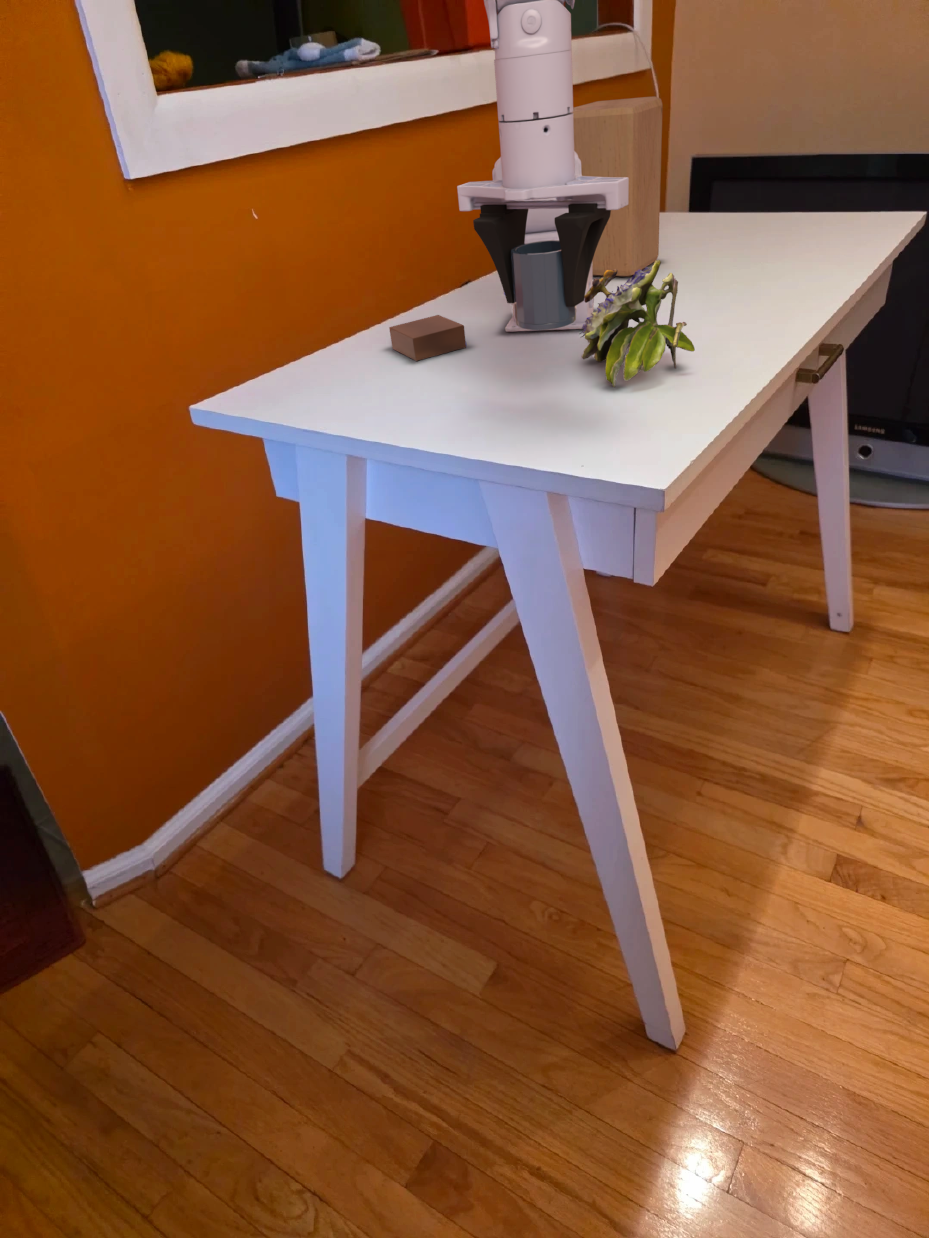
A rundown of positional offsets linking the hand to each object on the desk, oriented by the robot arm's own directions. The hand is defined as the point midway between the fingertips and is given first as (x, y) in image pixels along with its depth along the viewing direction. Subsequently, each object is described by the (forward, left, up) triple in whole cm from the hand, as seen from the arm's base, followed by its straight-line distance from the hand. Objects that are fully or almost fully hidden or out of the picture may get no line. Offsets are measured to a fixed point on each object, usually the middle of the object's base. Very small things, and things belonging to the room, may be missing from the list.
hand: (544, 301), depth 70 cm
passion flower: (-7, -9, -9) cm, 15 cm away
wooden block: (-1, -51, -9) cm, 52 cm away
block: (+17, -18, -9) cm, 26 cm away
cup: (0, 0, -2) cm, 2 cm away
